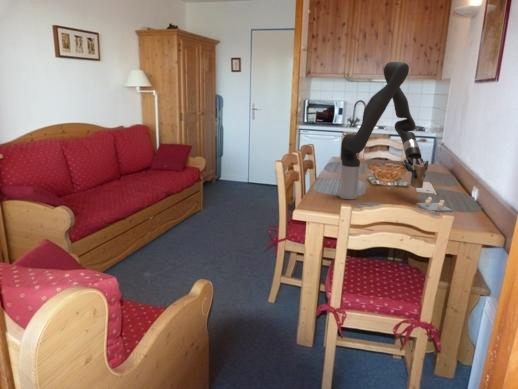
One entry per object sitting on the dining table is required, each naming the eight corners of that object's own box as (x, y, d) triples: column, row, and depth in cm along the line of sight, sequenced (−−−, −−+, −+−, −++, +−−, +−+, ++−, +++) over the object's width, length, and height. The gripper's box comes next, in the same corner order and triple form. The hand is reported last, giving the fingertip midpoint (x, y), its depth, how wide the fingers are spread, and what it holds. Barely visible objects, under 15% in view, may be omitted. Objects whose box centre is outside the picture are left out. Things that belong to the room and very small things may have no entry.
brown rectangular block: (415, 187, 203) (419, 166, 200) (410, 185, 209) (413, 164, 206) (422, 188, 204) (425, 166, 201) (416, 185, 210) (419, 164, 207)
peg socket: (428, 211, 193) (429, 203, 192) (416, 204, 205) (417, 197, 204) (452, 211, 194) (453, 204, 193) (438, 204, 206) (439, 197, 205)
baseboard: (433, 184, 254) (413, 182, 257) (433, 180, 253) (413, 178, 257) (439, 196, 225) (416, 194, 229) (440, 191, 225) (417, 189, 228)
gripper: (402, 145, 208) (409, 173, 199) (427, 146, 209) (436, 174, 201) (396, 153, 214) (403, 181, 205) (421, 155, 216) (429, 182, 207)
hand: (419, 177), depth 203 cm, fingers closed on brown rectangular block, 3 cm apart
